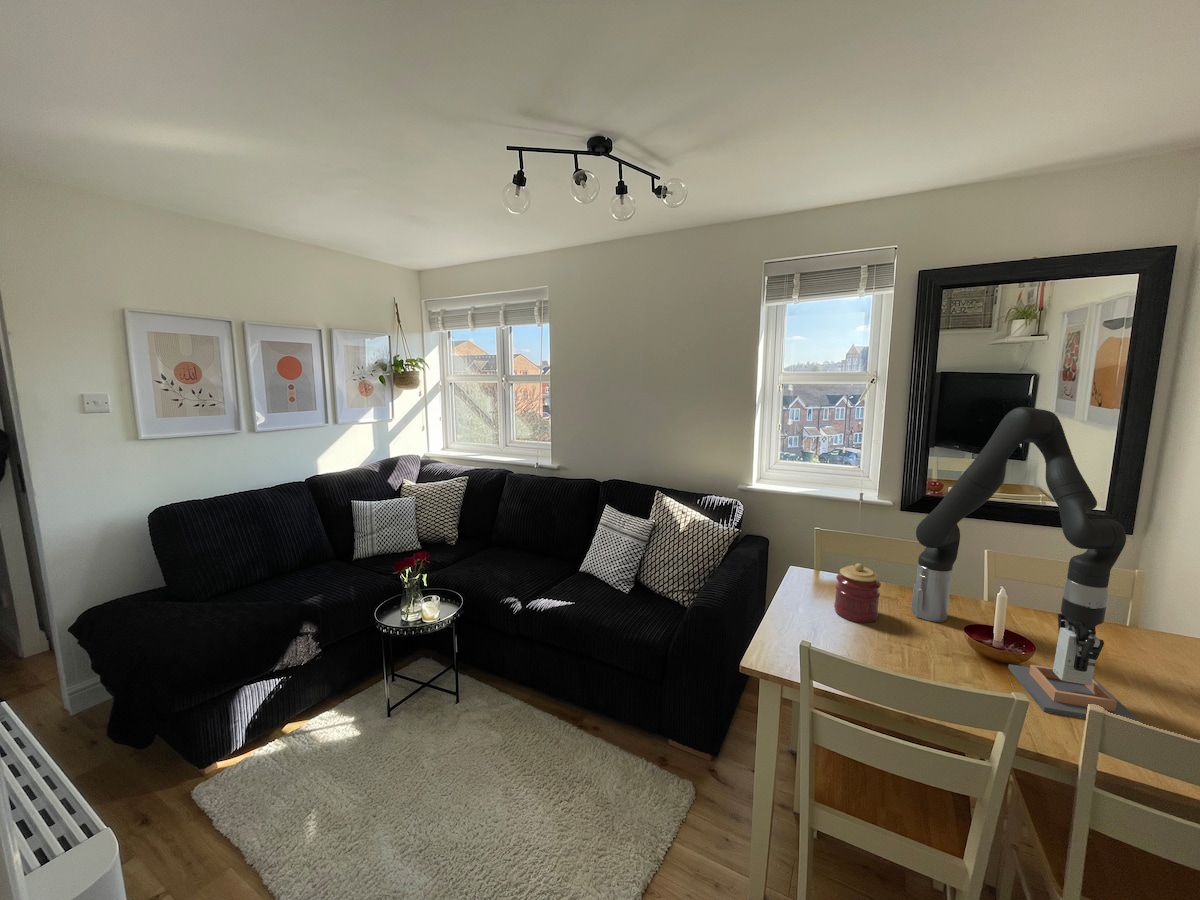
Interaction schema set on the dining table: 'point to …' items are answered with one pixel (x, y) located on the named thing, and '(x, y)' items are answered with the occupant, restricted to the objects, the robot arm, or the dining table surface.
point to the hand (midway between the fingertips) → (1074, 664)
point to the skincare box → (1070, 660)
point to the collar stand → (1065, 693)
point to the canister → (857, 594)
